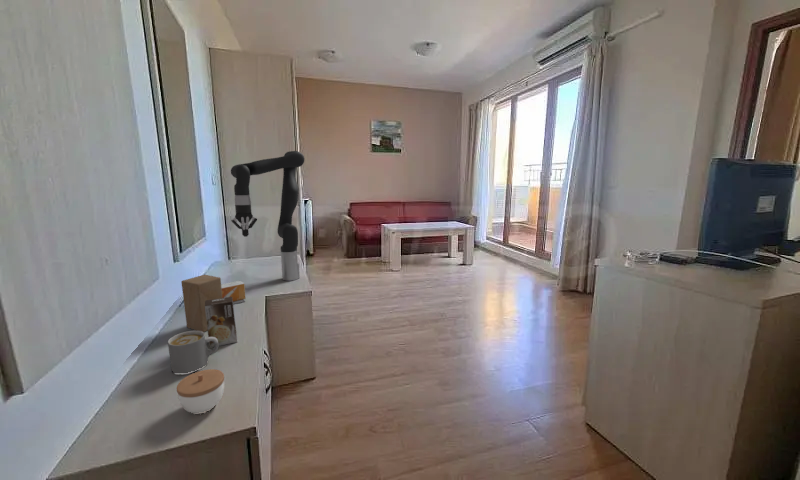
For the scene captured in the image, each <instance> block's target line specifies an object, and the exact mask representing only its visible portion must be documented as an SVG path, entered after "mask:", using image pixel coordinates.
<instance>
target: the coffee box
mask: <svg viewBox="0 0 800 480" xmlns="http://www.w3.org/2000/svg"><path fill="white" fill-rule="evenodd" d="M205 313H206V321H207V329H208V330H207V335H208V336H207V337H215V338H217V340H218V344H219V346H218V347H220V346H224V345H230V344H235V343H238V333H237V327H236V319H235V318H236V317H235V310H234V304H233V298H232V297H226V298H219V299H212V300H205ZM208 343H209V344H208V345H209V348H210V347H211V348H214V347H213V346H214V343H213V342H212V341H209V342H208Z"/></svg>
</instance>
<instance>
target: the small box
mask: <svg viewBox="0 0 800 480" xmlns="http://www.w3.org/2000/svg"><path fill="white" fill-rule="evenodd" d="M221 288H222V298H226V297H232V298H233V302H234V301H238V300H242V299H244V300H246V286H245V283H244V282H243V281H241V280H236V281H232V282H227V283H226V282H225V283H221Z"/></svg>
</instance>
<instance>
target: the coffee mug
mask: <svg viewBox="0 0 800 480" xmlns="http://www.w3.org/2000/svg"><path fill="white" fill-rule="evenodd" d="M209 341H212V342H213V343H214V347H212V348H211V349H209V348H208V343H209ZM167 345H168V353H169V355H168V356H169V360H170V368H171V372H172V371H173V372H174V373H188V372H191V371H195V370H197V369H199V368H202V367H203V366H205V365H206V364H207V361H208V360H209V357H210V356H212V355H213V354H215V353H216V352H218V350H219V347H220V346H219V344H218V340H217V338H215V337H208V336H206V333H205V332H202V331H196V330H189V331H183V332H180V333H178V334H174V335H173V336H171V337H170V338H169V339H168V340H167ZM208 362H209V361H208ZM207 365H208V364H207ZM207 365H206V366H207ZM206 366H205V367H206Z"/></svg>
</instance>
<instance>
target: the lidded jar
mask: <svg viewBox="0 0 800 480" xmlns="http://www.w3.org/2000/svg"><path fill="white" fill-rule="evenodd" d="M224 391H225V374H224V372H223V371H222V370H220V369H215V368H214V369H201V370H200V371H197V372H195V373H192V374H188V375H186V376H185V377H184V378H182V379H181V380H180V381H179V382H178V383H177V385H176V392H177V398H178V402H179V405H180V406H181V407H182V408H183V410H185V411H186V412H188V413H190V412H191V413H190V414H192V413H199V412H204V411H207V410H209V409H211V408H213V407H214V406H215V405H216V406H217V405H218V404H219V402H220V401H221V400H222V398H223V395H224Z"/></svg>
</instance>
